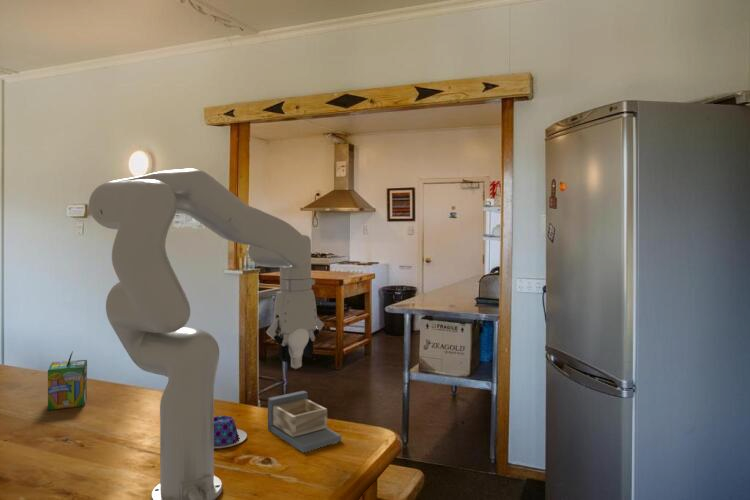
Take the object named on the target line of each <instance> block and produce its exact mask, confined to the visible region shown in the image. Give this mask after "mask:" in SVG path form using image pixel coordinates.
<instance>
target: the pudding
mask: <svg viewBox="0 0 750 500" xmlns="http://www.w3.org/2000/svg"><path fill="white" fill-rule="evenodd" d="M238 435H239V436H238ZM247 437H248V435H247V433H246V431H244V430H242V429H238V428H237V425H236V421H235V419H234V418H233V417H232V416H230V415H218V416H214V449H223V448H228V447H232V446H236V445H238V444H241V443H242V442H244V441H245V440H246V438H247ZM239 438H240V439H239ZM237 439H238V440H239V441H238V440H237ZM235 442H236V443H235ZM233 443H234V444H233Z"/></svg>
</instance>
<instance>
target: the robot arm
mask: <svg viewBox="0 0 750 500" xmlns="http://www.w3.org/2000/svg"><path fill="white" fill-rule="evenodd" d="M88 210H89V212H90V215H91V217H92V218H93V220H95V222H96V223H97V224H99V225H100V226H102V227H105V228H107V229H111V230H117V232H116V234H115V238H114V241H113V244H112V248H111V249H112V250H111V261H112V262H111V263H112V266H113V270H114V272H115V274H116V276H117V278H118V279H117V280H118V282H117V283H116V284H115V285H113V286H112V288H111V289H110V290H109V292H108V293H107V296H106V301H105V311H106V312H105V313H106V317H107V319H108V322H109V324H110V326H111V328H112V329H113V331H114V333H115V334H116V336H117V337H118V340H119V341H120V342H121V344H122V346H123V347H124V350H125V351H126V353H127V354H128V356H129V357H130V359H131V360H132V362H133V363H134V364H135V365H136V366H137V367H138V368H139V369H140V370H142V371H145V372H146V373H150V374H154V375H158V376H164V377H167V378H168V381H167V384H166V385H165V388H164V391H163V393H162V395H161V398H160V402H159V403H160V404H159V417H160V418H159V420H160V421H159V425H160V426H159V431H160V432H159V435H160V436H159V441H160V443H159V447H160V449H159V452H160V453H159V458H160V459H159V462H160V463H159V464H160V466H159V468H160V469H159V470H160V472H159V473H160V475H159V476H160V477H159V478H160V483H159V484H157V485H156V486H155V487H154V488H152V489H153V490H152V491H151V494H150V495H151V497H150V498H151V499H150V500H216V499H218V497H219V496H220V495H221V493H222V491H223V482H222V480H221V479H220V478H219V477H218V476H216V475H215V474H214V473H215V471H214V470H215V469H214V468H215V465H214V462H215V460H214V459H215V458H214V456H215V455H214V454H215V453H214V452H215V451H214V450H215V448H214V447H215V446H214V417H215V413H214V411H215V409H214V407H215V402H214V399H215V394H214V393H215V383H216V375H217V372H218V371H217V370H218V366H219V362H220V361H219V360H220V346H219V344H218V342H217V340H216V339H215V337H214V336H213V335H212V334H210V333H209V332H207V331H206V330H205V331H204V330H203V329H199V328H195V327H186V325H187V324H188V322H189V320H190V317H191V305H190V303H189V299H188V297H187V295H186V292H185V291H184V289H183V286H182V284H181V282H180V280H179V279H178V276H177V275H176V272H175V271H174V268H173V266H172V265H171V262H170V259H169V257H168V254H167V250H166V240H167V236H168V233H169V230H170V227H171V225H172V223H173V220H174V219H175V216H176V214H178V215H179V214H184V215H187V216H189V217H191V218H192V219H194V220H196V221H197V222H198V223H200V224H201V225H203V226H204V227H206V228H208V229H209V230H211V232H213V233H215V234H216V235H218V237H221V238H222V239H224V240H227V241H231V242H233V243H237V244H242V245H248V248H247V249H248V251H247V252H248V253H247V254H248V257H249V259H250V260H251V261H252V262H253V263H254V264H255V265H257V266H259V267H263V268H279V291H276V295H275V298H274V306H273V315H272V316H273V318H272V319H273V321H272V323H271V324H270V326H269V327H268V328H267V330H266V332H265V333H266V334H267V336H269V337H270V338H272V340H273V341H274V342H275V343H276V344H277V345H278V357H279V361H281V362H284V363H289V361H290V354H289V347H288V346H287V345H286V344H287V341H288V337H289V334H291V333H293V332H295V331H296V330H298V329H305V330H307V331H308V332H309V341H308V343H307V345H306V347H305V348H304V351H303V356H304V357H307V358H309V359H311V358H313V355H314V354H313V353H314V342H315V341H316V337H318V335H319V333H320V332H321V330H322V329H323V327H324V326H325V323H324V322H323V321H322V320H321V319H320V317H318V313H317V311H318V310H317V304H316V297H315V292H314V290H313V289H312V288H313V287H312V286H313V285H315V284H316V280H315V279H313V278H312V241H311V238H310V236H309V235H307V234H302V233H301V232H299V230H298V229H296V228H295V227H294V226H293V225H291V224H290V223H288V222H287V221H284V220H283V219H281V218H279V217H277V216H275V215H272V214H270V213H267V212H266V211H263V210H261V209H258V208H255V207H253V206H250V205H248V204H246V203H245V202H244V201H243V200H241V199H240V198H239V197H237V196H236V195H235V194H234V193H233V192H231V191H230V190H229V189H228V188H227V187H225V186H224V185H223V184H222V183H220V182H219V181H218V180H217V179H215V178H214V177H213V176H212V175H210V174H209V173H206V171H204V170H202V169H197V168H183V169H182V168H181V169H170V170H169V169H168V170H161V171H157V172H151V173H148V174H144V175H143V174H142V175H138V176H133V177H128V178H122V179H116V180H112V181H111V180H110V181H107V182H106V181H105V182H103V183H102V184H100V185H98V186H97V187H96V188H94V190H93V191H92V192H91V194H90V196H89V200H88ZM277 332H279V333H278V334H277Z"/></svg>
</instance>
